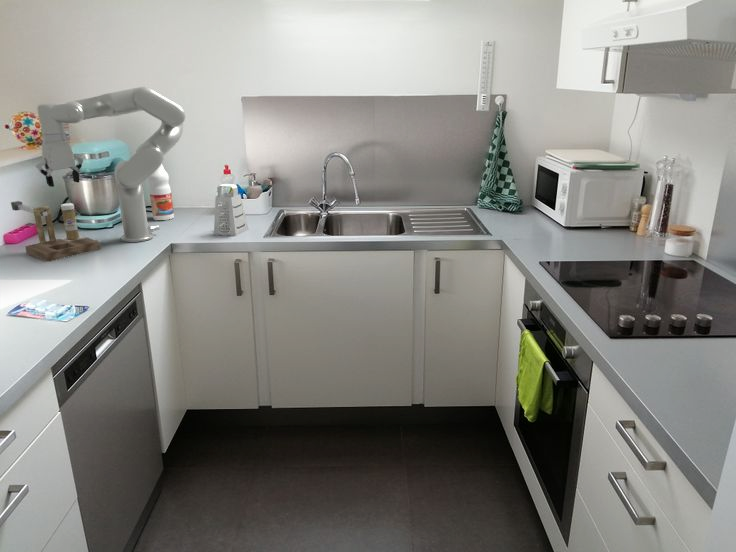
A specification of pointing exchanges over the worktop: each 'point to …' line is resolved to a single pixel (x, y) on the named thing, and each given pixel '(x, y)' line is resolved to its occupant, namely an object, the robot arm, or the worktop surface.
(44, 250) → the brown wooden frame
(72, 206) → the sprinkles bottle
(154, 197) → the fruit juice
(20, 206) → the bolt
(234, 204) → the grater
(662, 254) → the worktop surface
